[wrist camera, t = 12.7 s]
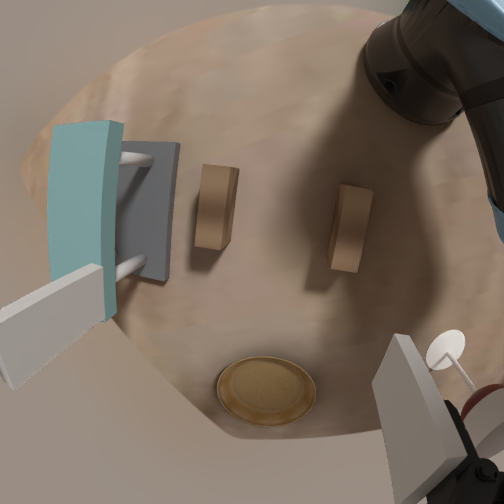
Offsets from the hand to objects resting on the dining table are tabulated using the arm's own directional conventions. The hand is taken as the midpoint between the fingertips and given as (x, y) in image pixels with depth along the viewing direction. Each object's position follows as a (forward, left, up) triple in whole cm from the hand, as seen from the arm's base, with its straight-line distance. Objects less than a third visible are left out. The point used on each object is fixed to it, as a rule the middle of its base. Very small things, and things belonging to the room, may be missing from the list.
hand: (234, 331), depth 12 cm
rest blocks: (-2, +1, -25) cm, 25 cm away
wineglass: (+14, +30, -25) cm, 41 cm away
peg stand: (0, -19, -25) cm, 31 cm away
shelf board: (0, -19, -14) cm, 24 cm away
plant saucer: (+24, +3, -25) cm, 35 cm away
